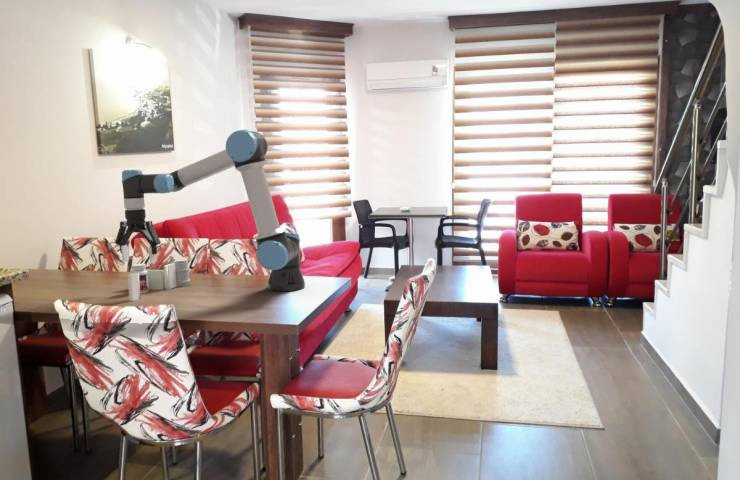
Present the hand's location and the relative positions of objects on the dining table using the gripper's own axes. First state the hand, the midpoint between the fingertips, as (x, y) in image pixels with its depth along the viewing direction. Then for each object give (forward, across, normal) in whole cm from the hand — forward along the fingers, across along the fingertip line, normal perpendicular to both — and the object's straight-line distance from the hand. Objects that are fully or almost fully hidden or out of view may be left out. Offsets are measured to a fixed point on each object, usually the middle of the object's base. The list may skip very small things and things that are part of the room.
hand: (139, 262), depth 229 cm
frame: (+12, -6, 0) cm, 14 cm away
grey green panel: (+12, +2, -5) cm, 14 cm away
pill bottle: (+13, +1, 0) cm, 13 cm away
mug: (+13, -4, -17) cm, 22 cm away
